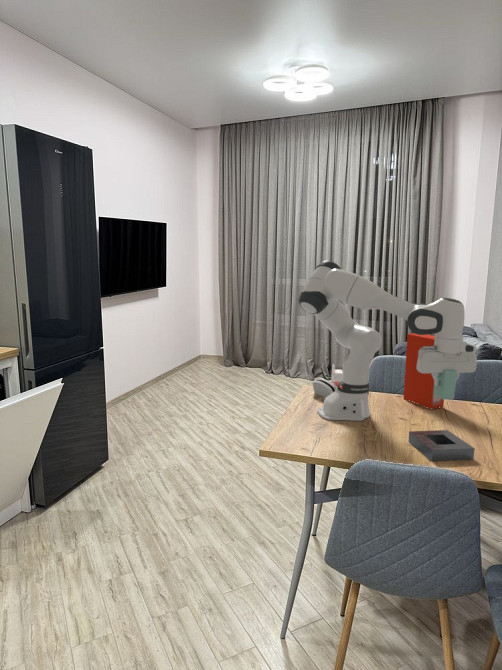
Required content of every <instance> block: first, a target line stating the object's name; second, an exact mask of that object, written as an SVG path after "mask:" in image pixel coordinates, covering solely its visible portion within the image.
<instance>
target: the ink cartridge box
mask: <svg viewBox="0 0 502 670" xmlns="http://www.w3.org/2000/svg"><path fill="white" fill-rule="evenodd" d="M342 373H343V369H336V367H335V364H334V363H332V365H331V379H330V383H332V384H333V385H334V386H335V387H336V389H337V386H336V385H335V384H334V382H335V381H338V382H339V383H340V382H341V381H342Z"/></svg>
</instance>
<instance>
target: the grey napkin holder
mask: <svg viewBox="0 0 502 670" xmlns="http://www.w3.org/2000/svg"><path fill="white" fill-rule="evenodd" d="M312 386H313V387H312V388H313V392H314V394H315V393H316V394H315V395H317V394H318V395H317V396H319V395H320V396H319V397H321V396H322V397H321V398H323V397H324V398H323V399H325V398H326V397H327V396H329V395H330V394H332V393H333V392H335V391H336V390H337V389H336V387H335V386H334V385H333V384H332V383H331V381H329V380H327V379H324V378H318V379H316V380H314V381H313V382H312Z"/></svg>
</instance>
